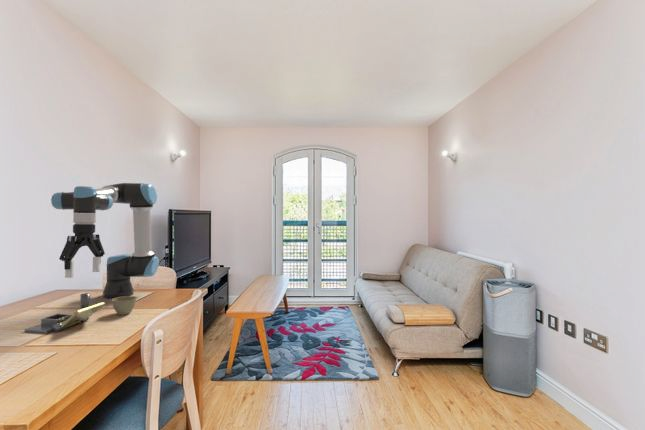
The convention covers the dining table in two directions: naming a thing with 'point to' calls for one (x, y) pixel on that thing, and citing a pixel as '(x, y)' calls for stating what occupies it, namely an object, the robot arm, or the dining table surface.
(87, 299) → the pin
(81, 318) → the brass leaf
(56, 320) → the hinge base
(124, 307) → the flower pot
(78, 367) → the dining table surface
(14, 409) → the dining table surface
